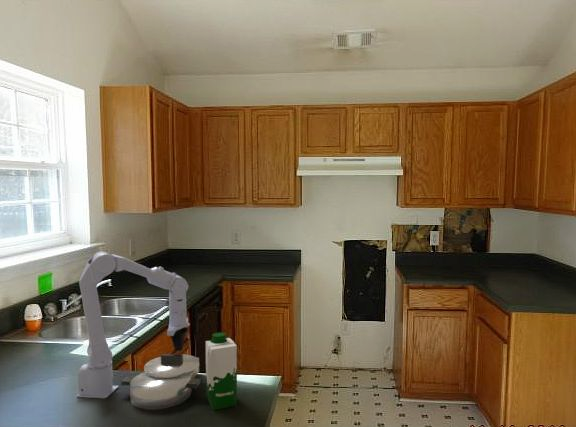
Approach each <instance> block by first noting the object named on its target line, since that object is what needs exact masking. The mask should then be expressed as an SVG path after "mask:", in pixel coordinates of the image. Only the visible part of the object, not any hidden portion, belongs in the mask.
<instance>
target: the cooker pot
mask: <svg viewBox="0 0 576 427" xmlns="http://www.w3.org/2000/svg"><path fill="white" fill-rule="evenodd" d="M197 358H198V360H199V361H200V357H197ZM199 373H200V366H199V367H198V368H197V369H196V370H195V371H193V372H192V373H189V374H187V375H184V376H180V377H174V378H155V377H151V376H148V375H147V374H145V372H144V371H143V372H142V373H139V374H138V375H126V377H124V378H123V379H122V380H121V382H120V383H121V384H120V385H121V386H130V387H129V388H130V390H129V391H130V397H129V398H130V403H131V405H133V407H136V408H138V409H142V410H163V409H168V408H172V407H175V406H177V405H180V404H182V403H184V402H185V401H187V400H188V399H189V398H190V396H191V395H192V389H198V388H199V386H200V384H201V383H202V379H201V378H196V376H197V375H198V374H199Z"/></svg>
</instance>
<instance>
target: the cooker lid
mask: <svg viewBox="0 0 576 427" xmlns="http://www.w3.org/2000/svg"><path fill="white" fill-rule="evenodd" d="M198 358H199V357H196V356H195V355H194V356H193V355H191V354H181V353H179V354H178V353H162V354H161V355H160V356H158V357H156V358H153V359H150V360H149V361H147V362H146V363H145V364H144V366H143V373H144V372H145V374H147V375H148V376H151V377H155V378H174V377H180V376H184V375H187V374H189V373H192V372H193V371H195V370H196V369H197V368H198V367H199V368H200V359H199V360H198Z"/></svg>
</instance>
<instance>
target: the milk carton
mask: <svg viewBox="0 0 576 427" xmlns="http://www.w3.org/2000/svg"><path fill="white" fill-rule="evenodd" d="M211 336H212V337H211V339H210V340H206V341H205V389H206V396H207V398H206V399H207V401H208V403H209V405H210V406H211V408H212V411H216V410H217V411H218V410H220V409H225V408H230V407H234V406H237V402H238V401H237V395H238V394H237V393H238V392H237V391H238V376H237V374H238V369H237V368H238V367H237V366H238V364H237V363H238V362H237V357H238V356H237V354H238V353H237V351H238V348H237V344H236V343H235V342H234V340H232V339H231V338H230V337H227V335H226V333H225V332H214V333H212V335H211Z"/></svg>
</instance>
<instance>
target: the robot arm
mask: <svg viewBox="0 0 576 427" xmlns="http://www.w3.org/2000/svg"><path fill="white" fill-rule="evenodd" d="M114 271H115V272H122V271H126V272H130V273H133V274H135V275H139V276H141V277H144V278H146V281H147V282H148V283H149V284H150V285H153V286H156V287H159V288H161V289H162V290H163V289H164V290H168V306H169V307H168V311H169V312H168V313H169V314H168V315H169V316H168V317H169V319H168V320H169V324H168V329H167V331H166V336H167V337H169V338H170V339H171V341H172V344H173V348H174V351H175V352H181V351H182V350H183V347H184V343H185V338H186V335H187V332H188V330H189V328H188V327H190V326H191V323H190V322H189V318H188V314H187V291H188V290H189V287H190V286H189V284H188V281H187V279H185V278H184V277H182V276H180V275H178V274H177V273H176V272H170V271H167V270H165V269H164V267H162V266H154V267H151V268H149V267H147V266H145V265H142V264H140V263H138V262H135V261H133V260H132V259H129V258H127V257H123V256H120V255H117V254H114V253H113V254H112V253H111V254H109V252H106V251H97V252H96V253H94V254H93V255H92V256H91V257H90V258H89V259H88V260H87V262H86V265H85V267H84V270H83V271H82V274H81V276H80V278H79V281H78V283H79V289H80V290H79V291H80V296H81V301H82V306H83V313H84V318H85V324H86V330H87V336H88V337H87V338H88V346H87V351H86V353H87V355H88V357H89V361H88V362H87V363H84V364H82V365H81V367H80V368H79V371H78V376H77V384H78V394H77V398H89V399H91V398H93V399H107V398H108V397H109V396H110V395H111V394H112V393H114V391H116V390H117V389H118V388H119V385H114V384H113V382H114V380H113V379H114V378H113V353H112V351H111V349H110V347H109V344H108V342H107V339H106V338H107V337H106V335H105V328H104V323H103V322H104V321H103V318H102V311H101V304H100V300H99V293H98V287H97V286H98V285H99V283H100V282H102V280H103V279H104V278H105V277H107V276H109V275H110V274H112V273H113V272H114Z"/></svg>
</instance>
